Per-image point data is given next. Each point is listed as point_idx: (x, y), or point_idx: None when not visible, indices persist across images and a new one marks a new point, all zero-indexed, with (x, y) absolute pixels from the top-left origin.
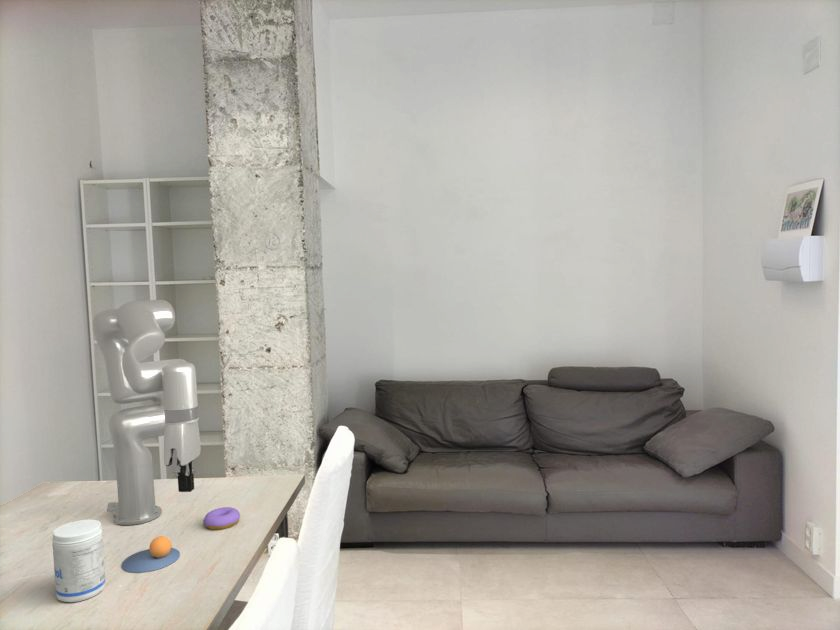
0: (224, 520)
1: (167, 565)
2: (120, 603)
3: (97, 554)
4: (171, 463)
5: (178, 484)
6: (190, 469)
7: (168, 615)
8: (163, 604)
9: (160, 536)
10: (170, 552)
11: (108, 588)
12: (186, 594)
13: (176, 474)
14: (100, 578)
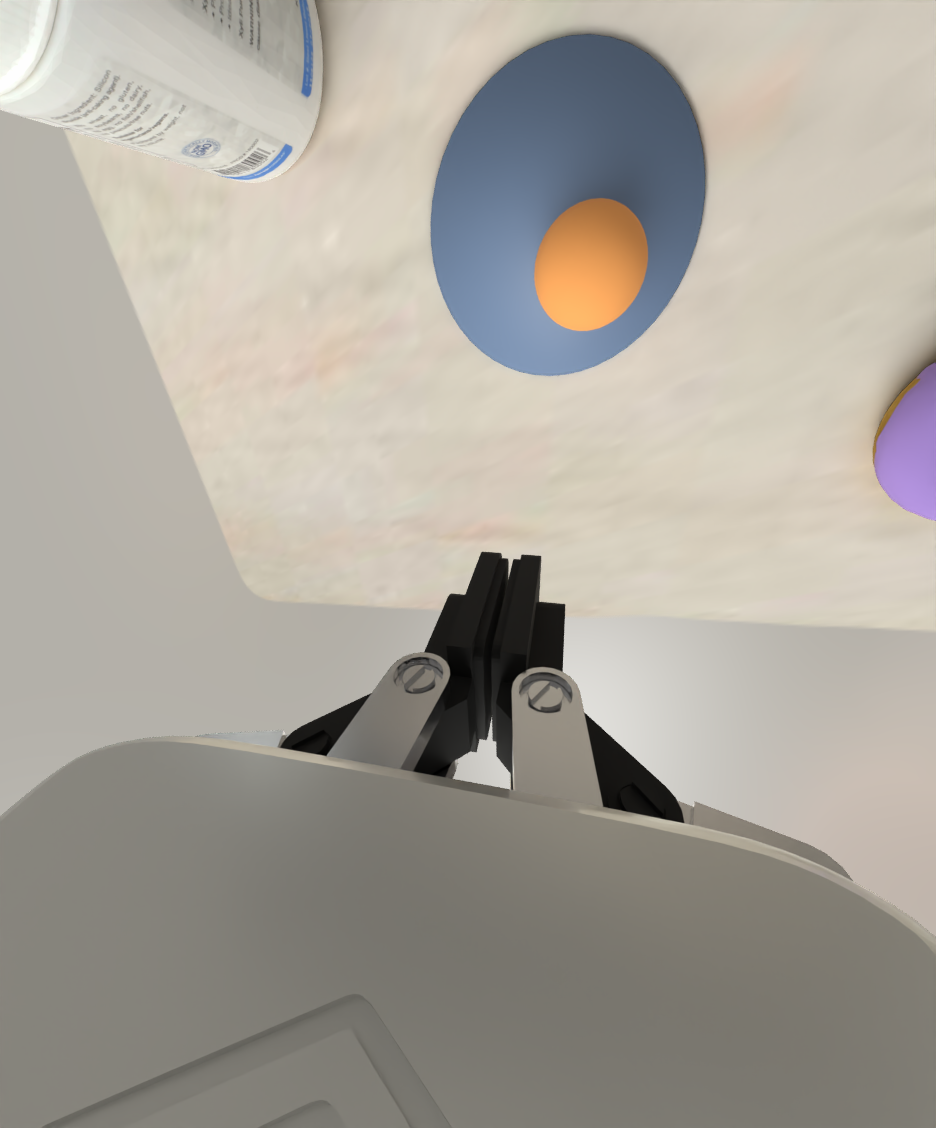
0: (898, 482)
1: (495, 360)
2: (237, 331)
3: (103, 138)
4: (314, 756)
5: (468, 587)
6: (510, 783)
7: (240, 511)
8: (274, 475)
9: (599, 265)
10: None
11: (299, 190)
12: (332, 515)
13: (388, 671)
14: (220, 171)
